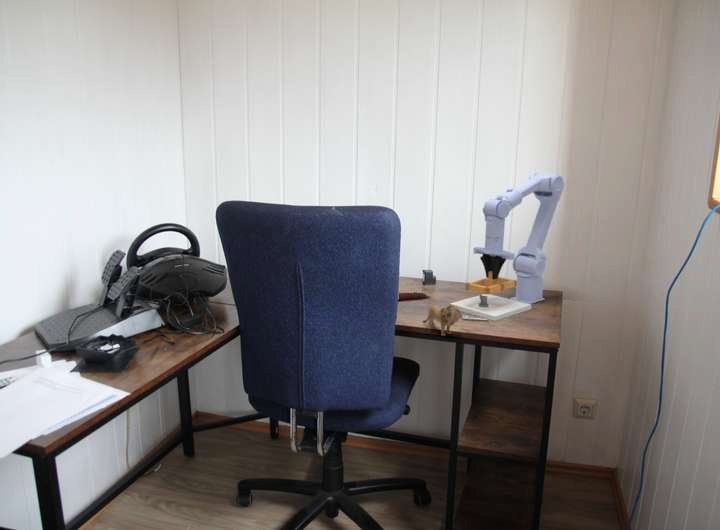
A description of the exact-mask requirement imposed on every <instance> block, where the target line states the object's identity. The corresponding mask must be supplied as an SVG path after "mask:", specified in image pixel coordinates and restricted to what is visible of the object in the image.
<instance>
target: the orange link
mask: <svg viewBox="0 0 720 530" xmlns="http://www.w3.org/2000/svg"><path fill="white" fill-rule="evenodd" d="M516 286H517V279H516V280H515V279H512V278H505V277H502V276H498V279H492V271H488V278H482V279H478V280H474V281H469V282H466V283H465V290H468V291H471V292H475V293H479V294H482V295H483V294H487V295H488V294H490V295H492V294H494V293H495V294H496V293H498V292H501V291H505V290H506V291H507V290H509V289H512V288H516Z"/></svg>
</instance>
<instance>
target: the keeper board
mask: <svg viewBox="0 0 720 530" xmlns="http://www.w3.org/2000/svg"><path fill="white" fill-rule="evenodd" d="M451 305H457V306H458V307H459V310H460V311H462V312H463V313H465V314H468V315H469V314H470V315H472V316H475V315H476V316H475V317H479V316H480V318H482V317H483V319H486V320H489V319H490V320H489V321H493V322H497V321H499V320H504V319H505V318H508V317H512V316H515V315H517V314H521V313H523V312H526V311H529V310H531V309H532V304H527V303H523V302H519V301H515V300H511V299H510V298H507V297H501V296H499V295H498V296H497V295H494V294H488V295H487V294H483V293H482V294H479V295H476V296H473V297H469V298H465V299H461V300H458V301H455V302H454V301H453V302H450V303H449V306H451Z"/></svg>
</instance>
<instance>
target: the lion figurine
mask: <svg viewBox="0 0 720 530" xmlns="http://www.w3.org/2000/svg"><path fill="white" fill-rule="evenodd" d="M463 315H464V312H462V311H460V310H459V307H458V306H457V305H451V306H450V305H449V306H446V307H443V308H442V309H440V307H439V306H438V305H432V306H430V307H429V309H428V316H427V318H426V319H425V320H423V321H422V323H423V324H425V323H427V322H428V323H427V325H428V327H427V329H428V330H432V329H433V326H435V325H436V323H435V322H434V321H437V322H438V323H439V324H440V333H441V334H440V335H441V336H443V337H445V336H446V333H447V334H450V335H451V333H452V331H450V329H451V327H452V326H454V325H455V323H458V322H459V321H460V319H462V317H463ZM445 326H446V327H445ZM445 328H446V329H445ZM445 330H446V331H445Z"/></svg>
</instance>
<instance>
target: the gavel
mask: <svg viewBox="0 0 720 530" xmlns="http://www.w3.org/2000/svg"><path fill="white" fill-rule="evenodd" d="M398 293H399V300H398V301H415V300H416V301H417V300H425V299H426V300H427V299H428V298H430V297H431V295H430V294H427V293H423V292H398Z"/></svg>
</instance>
